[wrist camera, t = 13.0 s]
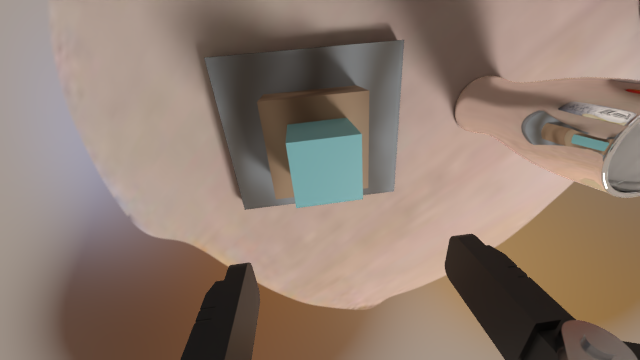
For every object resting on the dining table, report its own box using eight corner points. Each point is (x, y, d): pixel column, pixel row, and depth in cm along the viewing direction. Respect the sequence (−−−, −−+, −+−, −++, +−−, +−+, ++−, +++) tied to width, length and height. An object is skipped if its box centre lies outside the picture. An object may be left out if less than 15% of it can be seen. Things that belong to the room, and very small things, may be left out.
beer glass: (437, 116, 27) (576, 170, 14) (483, 56, 25) (705, 53, 11) (477, 145, 29) (631, 216, 16) (523, 93, 27) (748, 126, 14)
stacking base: (397, 40, 23) (428, 35, 18) (389, 185, 31) (409, 212, 25) (209, 57, 22) (183, 57, 17) (247, 202, 30) (237, 234, 24)
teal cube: (346, 117, 20) (361, 134, 16) (348, 171, 22) (362, 199, 18) (287, 124, 20) (285, 143, 15) (295, 178, 22) (296, 208, 18)
